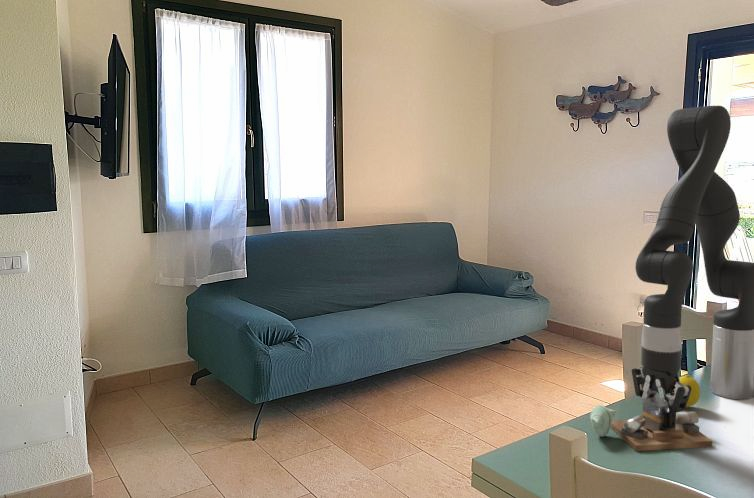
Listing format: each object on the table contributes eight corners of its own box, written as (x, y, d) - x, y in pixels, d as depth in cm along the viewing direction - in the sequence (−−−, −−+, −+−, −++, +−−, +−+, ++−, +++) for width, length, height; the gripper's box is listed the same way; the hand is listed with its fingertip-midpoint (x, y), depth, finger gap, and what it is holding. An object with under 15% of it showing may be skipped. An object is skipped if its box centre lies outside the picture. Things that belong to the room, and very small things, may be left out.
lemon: (702, 413, 135) (704, 379, 134) (676, 411, 137) (678, 378, 135) (694, 403, 141) (696, 371, 140) (670, 402, 142) (671, 370, 141)
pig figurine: (600, 445, 122) (600, 414, 121) (581, 439, 125) (582, 408, 124) (618, 433, 127) (619, 403, 126) (600, 427, 130) (601, 398, 129)
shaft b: (629, 428, 126) (629, 412, 125) (649, 435, 122) (650, 419, 122) (619, 434, 123) (619, 418, 123) (639, 441, 120) (640, 424, 120)
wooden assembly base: (678, 421, 131) (679, 401, 131) (712, 446, 119) (713, 424, 119) (608, 425, 130) (609, 405, 130) (635, 451, 119) (636, 428, 118)
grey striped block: (658, 421, 128) (659, 395, 127) (675, 430, 123) (676, 403, 123) (641, 425, 126) (642, 399, 125) (658, 434, 122) (659, 407, 121)
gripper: (704, 352, 117) (700, 433, 119) (648, 334, 130) (646, 407, 133) (675, 357, 114) (672, 440, 117) (621, 338, 128) (619, 413, 130)
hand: (658, 422), depth 125 cm, fingers closed on grey striped block, 4 cm apart
